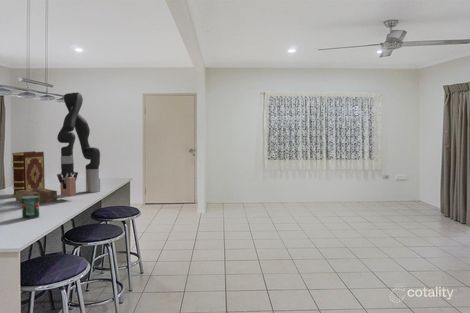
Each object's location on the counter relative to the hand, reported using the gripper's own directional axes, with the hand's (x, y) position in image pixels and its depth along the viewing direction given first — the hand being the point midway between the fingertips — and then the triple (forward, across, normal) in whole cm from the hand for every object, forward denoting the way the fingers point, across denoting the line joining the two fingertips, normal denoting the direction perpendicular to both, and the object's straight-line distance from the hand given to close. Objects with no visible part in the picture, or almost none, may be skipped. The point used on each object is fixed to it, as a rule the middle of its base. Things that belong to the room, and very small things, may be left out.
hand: (68, 188), depth 236 cm
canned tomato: (+7, +39, +28) cm, 49 cm away
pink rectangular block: (+5, 0, 0) cm, 5 cm away
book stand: (+7, +14, -12) cm, 20 cm away
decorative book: (+8, +5, -40) cm, 41 cm away
